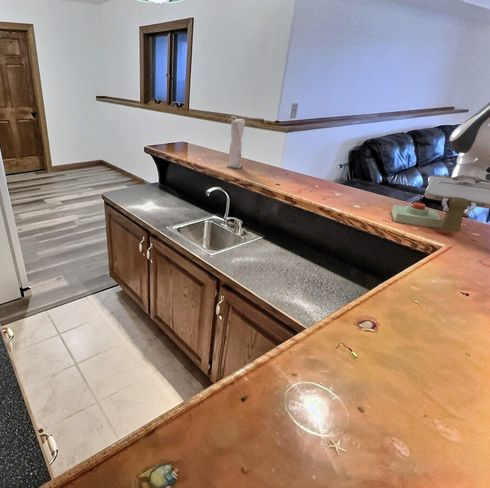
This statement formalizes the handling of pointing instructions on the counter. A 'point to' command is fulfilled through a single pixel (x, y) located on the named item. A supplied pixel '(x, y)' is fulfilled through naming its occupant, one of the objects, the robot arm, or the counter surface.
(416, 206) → the release button
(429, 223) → the button base
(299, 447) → the counter surface
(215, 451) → the counter surface
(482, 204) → the robot arm
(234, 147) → the skyscraper
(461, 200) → the cork
